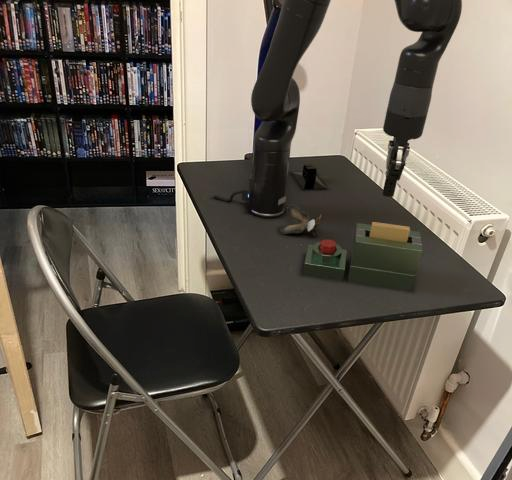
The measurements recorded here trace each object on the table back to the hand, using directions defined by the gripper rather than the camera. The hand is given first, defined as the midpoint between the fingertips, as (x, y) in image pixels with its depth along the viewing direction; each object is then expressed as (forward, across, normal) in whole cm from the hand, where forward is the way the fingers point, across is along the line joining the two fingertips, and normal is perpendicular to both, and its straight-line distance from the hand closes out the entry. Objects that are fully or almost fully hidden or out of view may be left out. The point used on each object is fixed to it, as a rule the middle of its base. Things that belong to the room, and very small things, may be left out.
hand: (387, 195), depth 118 cm
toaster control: (+19, 0, -10) cm, 22 cm away
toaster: (+19, 0, +2) cm, 19 cm away
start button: (+14, 0, -10) cm, 18 cm away
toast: (+15, 0, +2) cm, 15 cm away
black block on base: (+19, -49, -19) cm, 56 cm away
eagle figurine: (+19, -15, -18) cm, 30 cm away
